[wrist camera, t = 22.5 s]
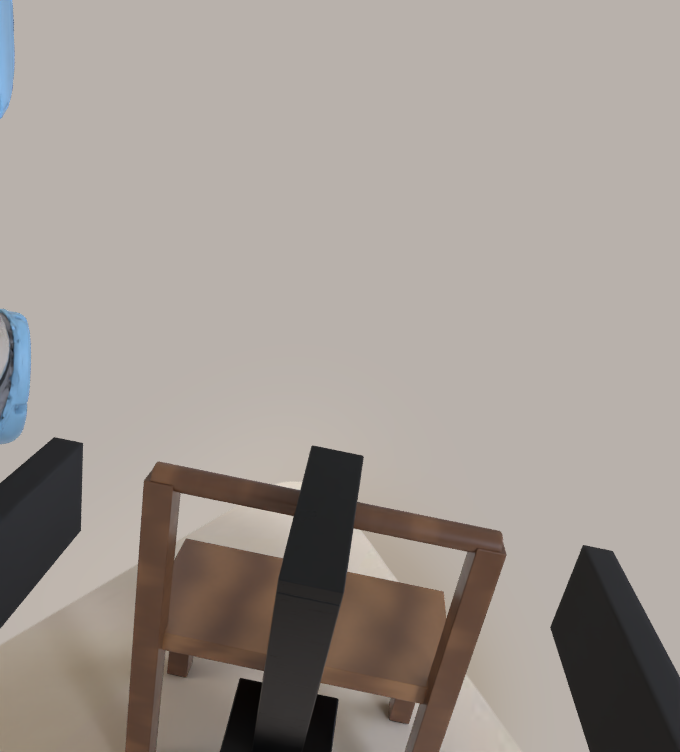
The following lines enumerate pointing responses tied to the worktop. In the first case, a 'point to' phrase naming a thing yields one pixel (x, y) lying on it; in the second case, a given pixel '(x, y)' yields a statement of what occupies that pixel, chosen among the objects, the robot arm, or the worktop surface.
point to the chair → (257, 597)
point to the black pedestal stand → (302, 618)
